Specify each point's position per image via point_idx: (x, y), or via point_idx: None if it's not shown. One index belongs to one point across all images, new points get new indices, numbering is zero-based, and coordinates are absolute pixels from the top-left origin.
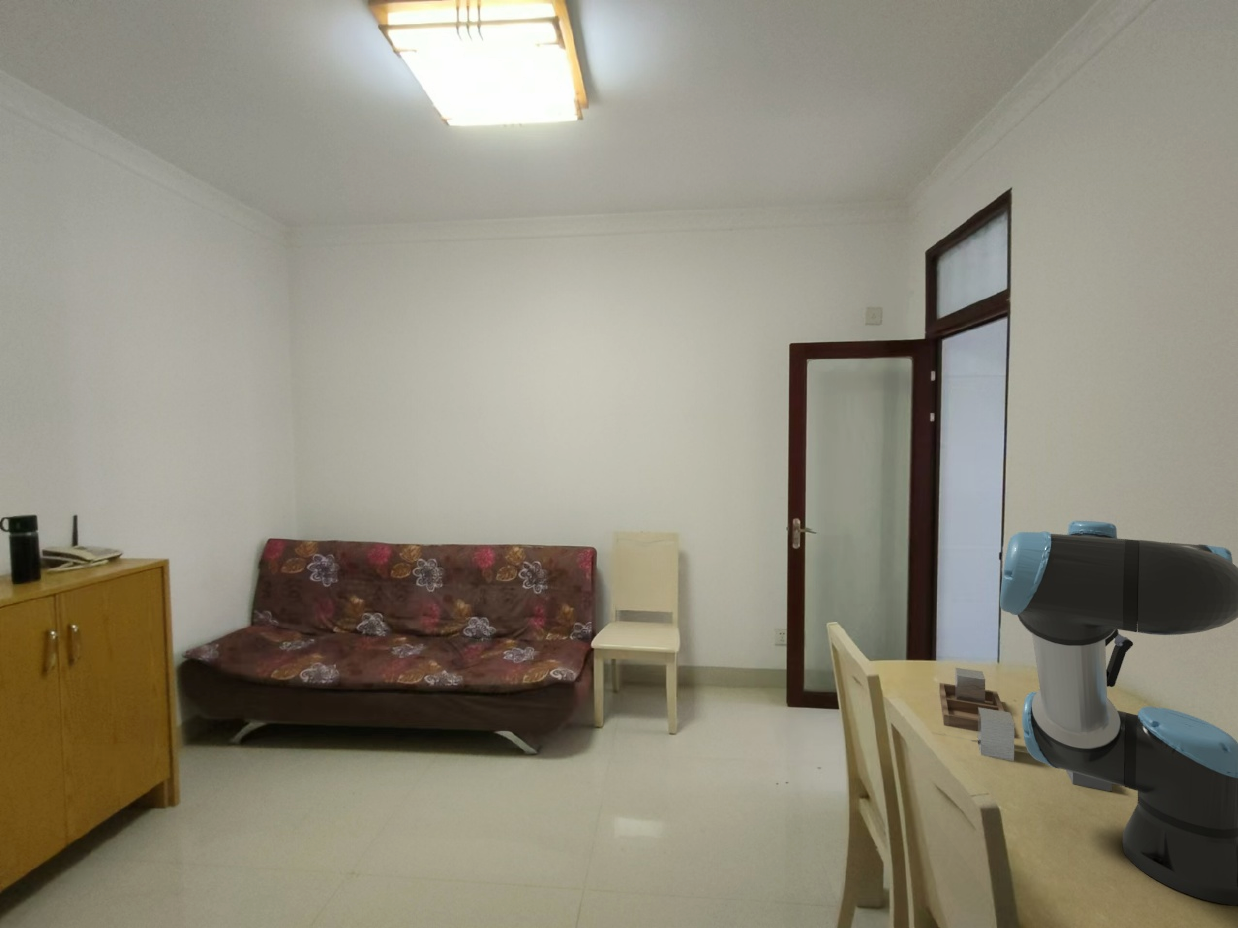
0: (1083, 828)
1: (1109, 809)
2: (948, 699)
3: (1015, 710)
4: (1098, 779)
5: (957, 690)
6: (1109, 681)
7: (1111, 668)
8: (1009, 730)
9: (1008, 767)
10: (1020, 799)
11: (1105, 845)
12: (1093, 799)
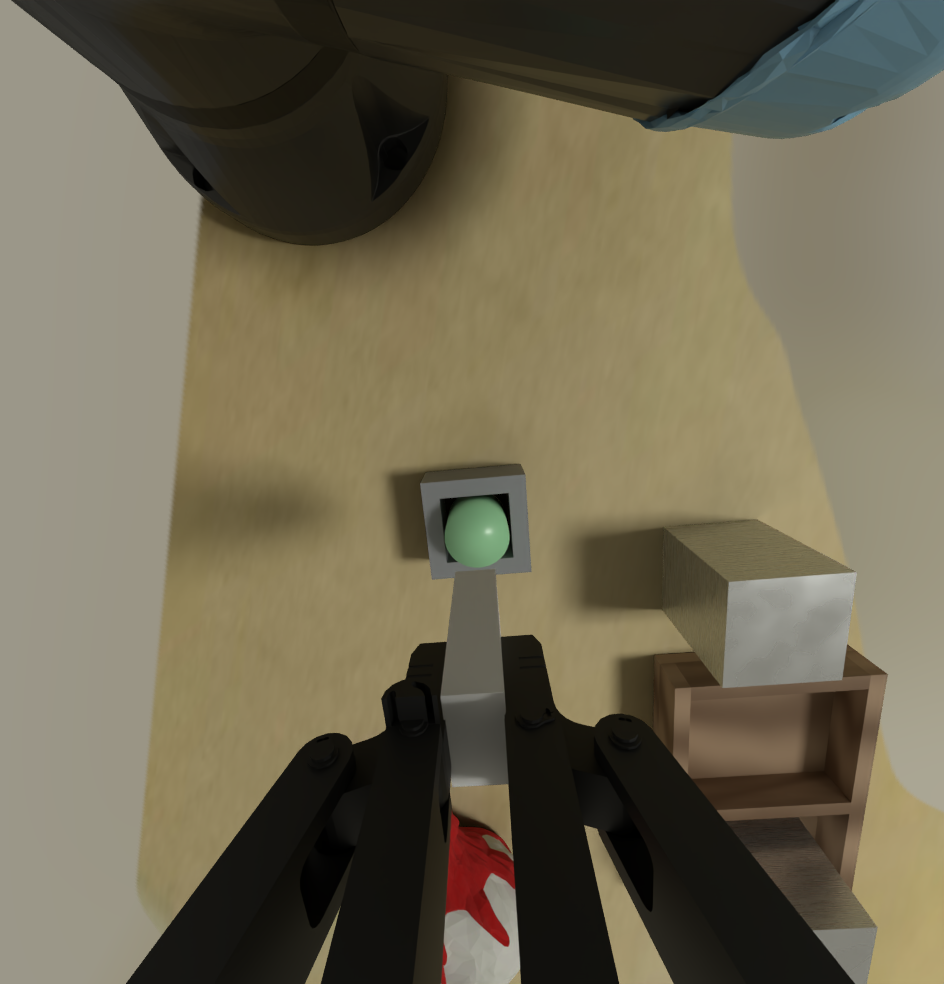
0: (534, 172)
1: (446, 352)
2: (843, 802)
3: (604, 864)
4: (456, 475)
5: (826, 859)
6: (327, 772)
7: (252, 934)
8: (728, 567)
9: (686, 474)
10: (688, 263)
11: (489, 93)
12: (479, 393)
